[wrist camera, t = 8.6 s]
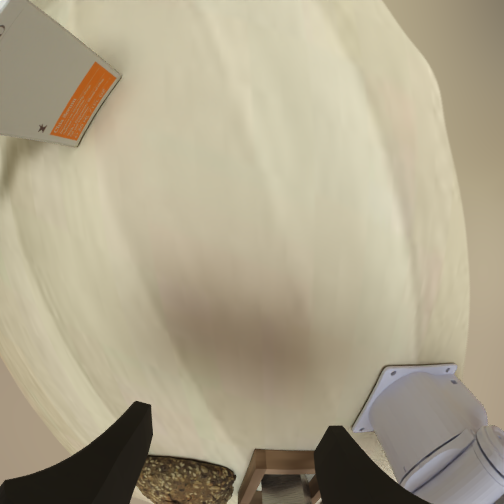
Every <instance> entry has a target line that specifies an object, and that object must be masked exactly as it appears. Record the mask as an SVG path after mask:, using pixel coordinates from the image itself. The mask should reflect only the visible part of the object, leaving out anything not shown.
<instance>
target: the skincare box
mask: <svg viewBox="0 0 504 504" xmlns="http://www.w3.org/2000/svg"><path fill="white" fill-rule="evenodd" d="M120 78H121V75H120V74H119V73H118V72H117V71H116V70H115V69H113V68H112V67H111V66H110V65H109V64H108V63H106V62H105V61H104V60H103V59H102V58H100V57H99V56H98V55H97V54H96V53H94V52H93V51H92V50H91V49H90V48H88V47H87V46H86V45H85V44H84V43H82V42H81V41H80V40H79V39H77V38H76V37H75V36H74V35H72V34H71V33H70V32H69V31H68V30H66V29H65V28H64V27H62V26H61V25H60V24H59V23H57V22H56V21H55V20H54V19H52V18H51V17H50V16H48V15H47V14H46V13H45V12H43V11H42V10H41V9H39V8H38V7H37V6H35V5H34V4H33V3H31V2H30V1H29V0H0V135H4V136H11V137H17V138H24V139H30V140H36V141H42V142H48V143H54V144H60V145H65V146H70V147H77V146H78V144H79V142H80V140H81V137H82V136H83V134H84V132H85V130H86V129H87V127H88V125H89V124H90V122H91V120H92V118H93V117H94V115H95V114H96V112H97V110H98V109H99V107H100V106H101V104H102V103H103V101H104V100H105V99H106V97H107V96H108V94H109V93H110V91H111V90H112V89H113V87H114V86H115V85H116V83H117V82H118V81H119V79H120Z"/></svg>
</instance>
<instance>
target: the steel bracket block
mask: <svg viewBox="0 0 504 504" xmlns="http://www.w3.org/2000/svg"><path fill="white" fill-rule="evenodd" d="M261 484H262V504H312V499H311V494H310V488H309V483H308V480H307V478H306V476H305V474H264V476H263V478H262V480H261Z"/></svg>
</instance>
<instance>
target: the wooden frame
mask: <svg viewBox="0 0 504 504" xmlns="http://www.w3.org/2000/svg"><path fill="white" fill-rule="evenodd" d="M264 474H315V465H314V451H280V450H261V449H255V451H254V453H253V456H252V459H251V461H250V464H249V467H248V469H247V472H246V474H245V477H244V479H243V482H242V484H241V487H240V489H239V492H238V504H262V491H256V490H257V488H258V486H259V484H260V482H261V480H262V478H263V476H264ZM309 488H310V494H311V499H312V504H315V503H316V502H317V501H318V500H319V499H320V498H321V494H320V490H319V486H318V482H317V478H316V474H315V476H314V477H313V479H312V480H311V481H310V483H309Z"/></svg>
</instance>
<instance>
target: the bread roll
mask: <svg viewBox="0 0 504 504" xmlns="http://www.w3.org/2000/svg"><path fill="white" fill-rule="evenodd" d="M235 479H236V475H234V474H233V472H232V471H231V470H229V469H228V468H225V467H222V466H217V465H213V464H208V463H202V462H197V461H192V460H184V459H176V458H171V457H153V456H147V458H146V460H145V463H144V466H143V468H142V471H141V473H140V476H139V478H138V481H137V483H136V486H137V487H138V488H139V490H140V491H141V492H142V494H143V495H144V496H146V497H147V498H148V499H150V500H151V501H152V502H153V503H155V504H227V501H228V500H229V499H230V498H231V497H232V493H233V488H234V487H232V484H233V483H234V481H235Z"/></svg>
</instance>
